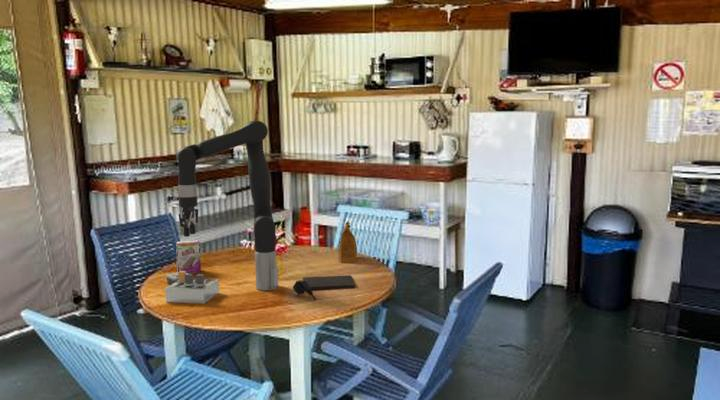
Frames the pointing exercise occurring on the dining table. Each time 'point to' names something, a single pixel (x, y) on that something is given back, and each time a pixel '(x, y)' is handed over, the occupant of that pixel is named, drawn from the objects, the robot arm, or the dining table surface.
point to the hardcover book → (330, 282)
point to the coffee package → (347, 246)
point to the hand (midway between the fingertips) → (189, 234)
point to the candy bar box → (188, 256)
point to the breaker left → (200, 280)
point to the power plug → (302, 288)
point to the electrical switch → (172, 278)
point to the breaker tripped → (181, 276)
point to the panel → (192, 292)
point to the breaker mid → (189, 280)
